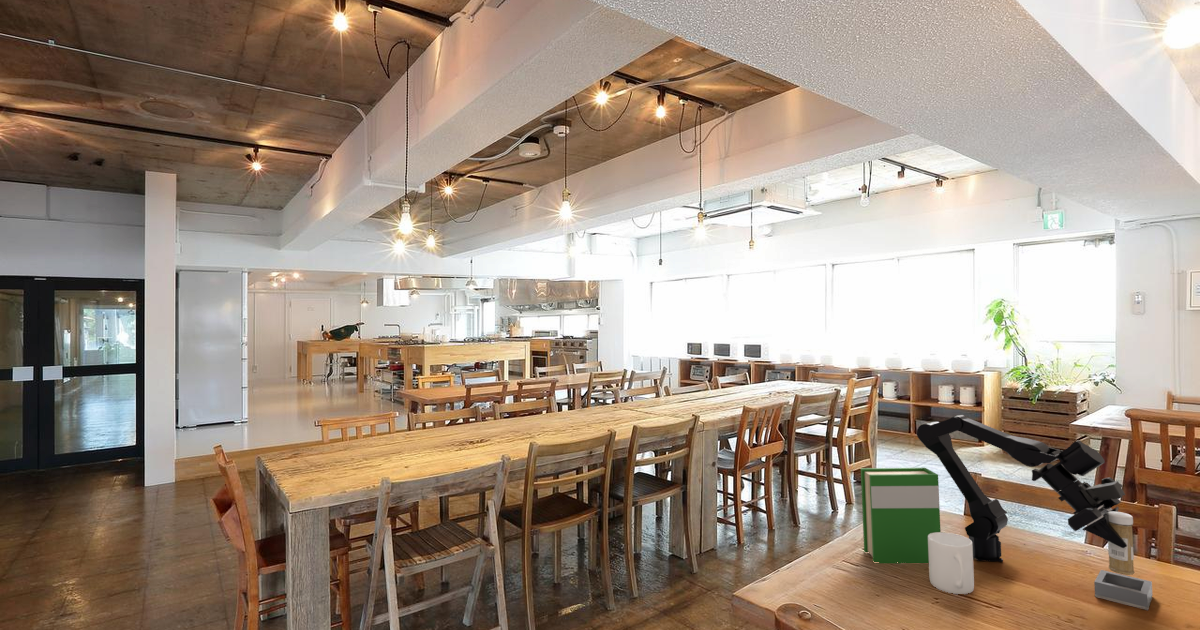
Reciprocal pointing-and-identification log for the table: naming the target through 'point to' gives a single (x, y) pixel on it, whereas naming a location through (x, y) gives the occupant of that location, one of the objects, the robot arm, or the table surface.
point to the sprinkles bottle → (1120, 556)
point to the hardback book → (899, 513)
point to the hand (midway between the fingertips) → (1128, 544)
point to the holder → (1123, 589)
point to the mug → (951, 562)
